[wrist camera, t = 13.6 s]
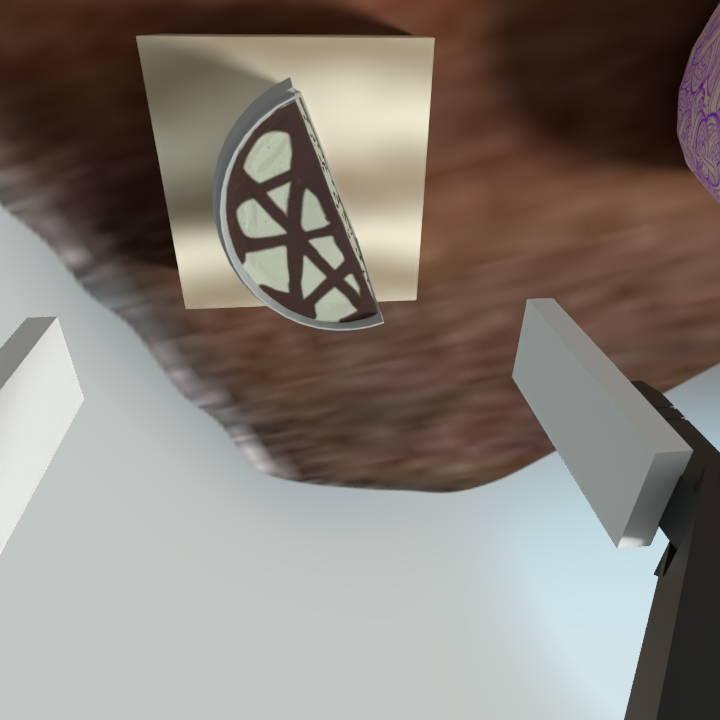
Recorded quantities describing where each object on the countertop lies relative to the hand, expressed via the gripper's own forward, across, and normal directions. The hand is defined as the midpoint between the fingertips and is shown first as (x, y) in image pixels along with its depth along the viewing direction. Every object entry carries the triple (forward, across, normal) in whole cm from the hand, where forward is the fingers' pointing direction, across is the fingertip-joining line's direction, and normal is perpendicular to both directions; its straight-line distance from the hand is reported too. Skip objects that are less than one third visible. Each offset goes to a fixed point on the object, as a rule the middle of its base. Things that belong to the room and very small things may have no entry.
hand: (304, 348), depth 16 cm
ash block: (+27, 0, -1) cm, 27 cm away
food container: (+21, -1, -1) cm, 21 cm away
